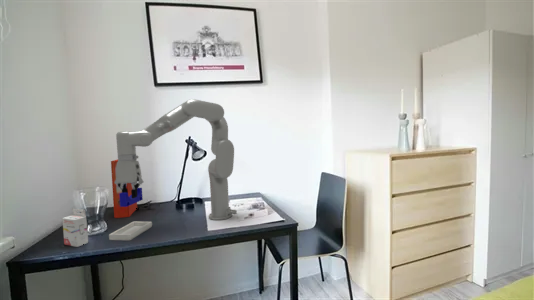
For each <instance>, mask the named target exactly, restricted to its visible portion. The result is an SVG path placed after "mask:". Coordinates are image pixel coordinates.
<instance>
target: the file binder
mask: <svg viewBox="0 0 534 300" xmlns="http://www.w3.org/2000/svg"><path fill="white" fill-rule="evenodd" d="M117 162H118V158H116V159H114V160H112V161H110V167H111V168H110V169H111V170H110V171H111V184H112V186H111V187H112V201H113V217H114V218H115V219H120V218H130V217H131V216H132V214H133V213H134V212H135V211H136V210H137V209H138V202H136V203H134V204H132V205H129V206H127V207H120V195H119V193H122V190H121V189H120V187H119V186H118V185H116V184H115V183H114V182H115V180H116V166H117ZM126 188H127V189H128V196H129V197H130V195H132V193H131V190H132V185H131V183H127V186H126ZM136 208H137V209H136Z"/></svg>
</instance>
